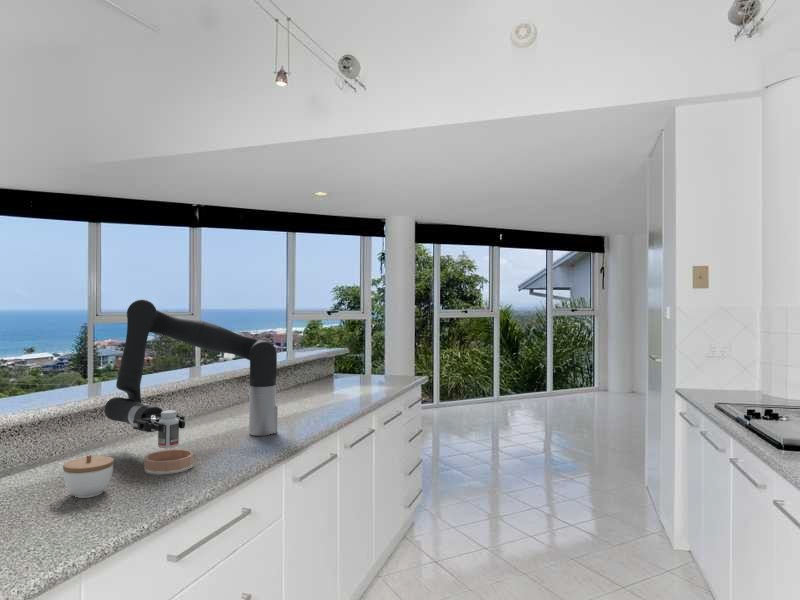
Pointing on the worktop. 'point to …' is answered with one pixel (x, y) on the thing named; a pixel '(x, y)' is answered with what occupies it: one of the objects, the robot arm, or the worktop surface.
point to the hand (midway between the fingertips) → (173, 426)
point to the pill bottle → (169, 430)
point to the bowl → (168, 461)
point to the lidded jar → (88, 475)
